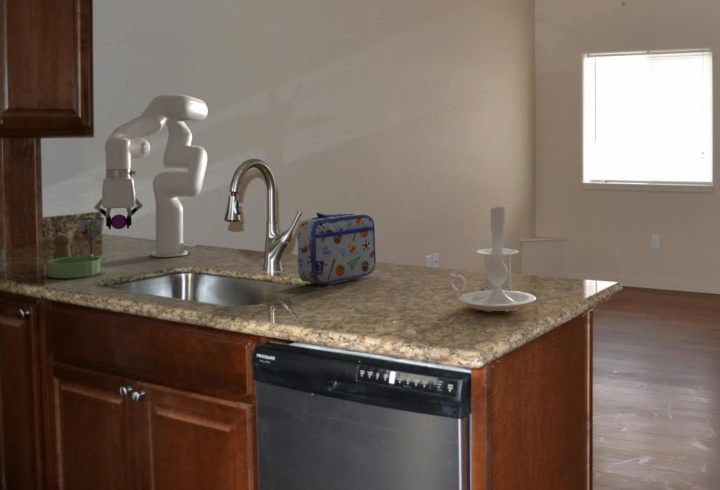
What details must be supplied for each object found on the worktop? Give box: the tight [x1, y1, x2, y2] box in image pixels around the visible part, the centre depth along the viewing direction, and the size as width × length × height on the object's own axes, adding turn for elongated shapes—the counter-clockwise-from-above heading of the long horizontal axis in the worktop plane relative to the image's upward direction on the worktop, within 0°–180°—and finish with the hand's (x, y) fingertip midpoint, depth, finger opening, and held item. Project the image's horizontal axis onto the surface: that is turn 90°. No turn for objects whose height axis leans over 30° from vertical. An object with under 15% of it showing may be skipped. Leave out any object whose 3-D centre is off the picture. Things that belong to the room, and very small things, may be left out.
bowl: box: [46, 255, 102, 280], centre depth 257 cm, size 15×15×5 cm
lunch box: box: [296, 212, 377, 286], centre depth 250 cm, size 28×10×22 cm, turn 144°
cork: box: [53, 234, 72, 259], centre depth 272 cm, size 6×6×11 cm
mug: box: [482, 247, 513, 291], centre depth 237 cm, size 12×8×12 cm
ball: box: [111, 213, 127, 230], centre depth 267 cm, size 5×5×5 cm
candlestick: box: [448, 205, 537, 313], centre depth 212 cm, size 21×25×28 cm
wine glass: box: [78, 216, 105, 261], centre depth 288 cm, size 8×8×15 cm
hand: (118, 227), depth 267 cm, fingers closed on ball, 4 cm apart
